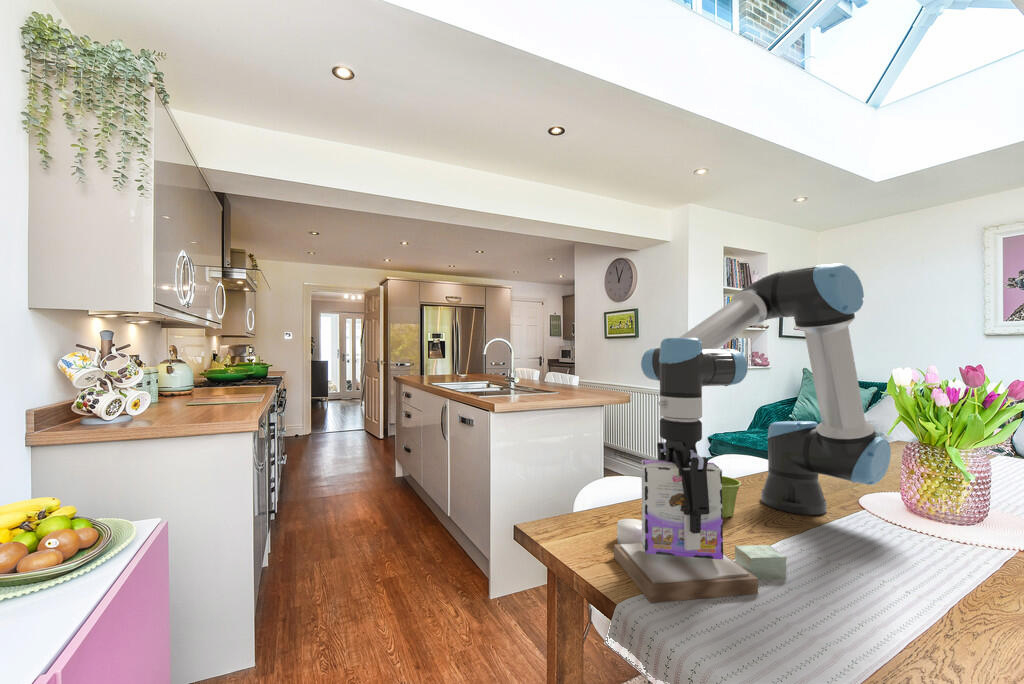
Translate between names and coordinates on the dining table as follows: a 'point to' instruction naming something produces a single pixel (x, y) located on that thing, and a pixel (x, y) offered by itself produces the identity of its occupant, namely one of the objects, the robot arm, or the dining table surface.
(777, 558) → the pale green block
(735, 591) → the picture frame
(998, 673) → the dining table surface
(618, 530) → the white rounded dome
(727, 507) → the plant pot
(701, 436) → the robot arm
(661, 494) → the candy box
